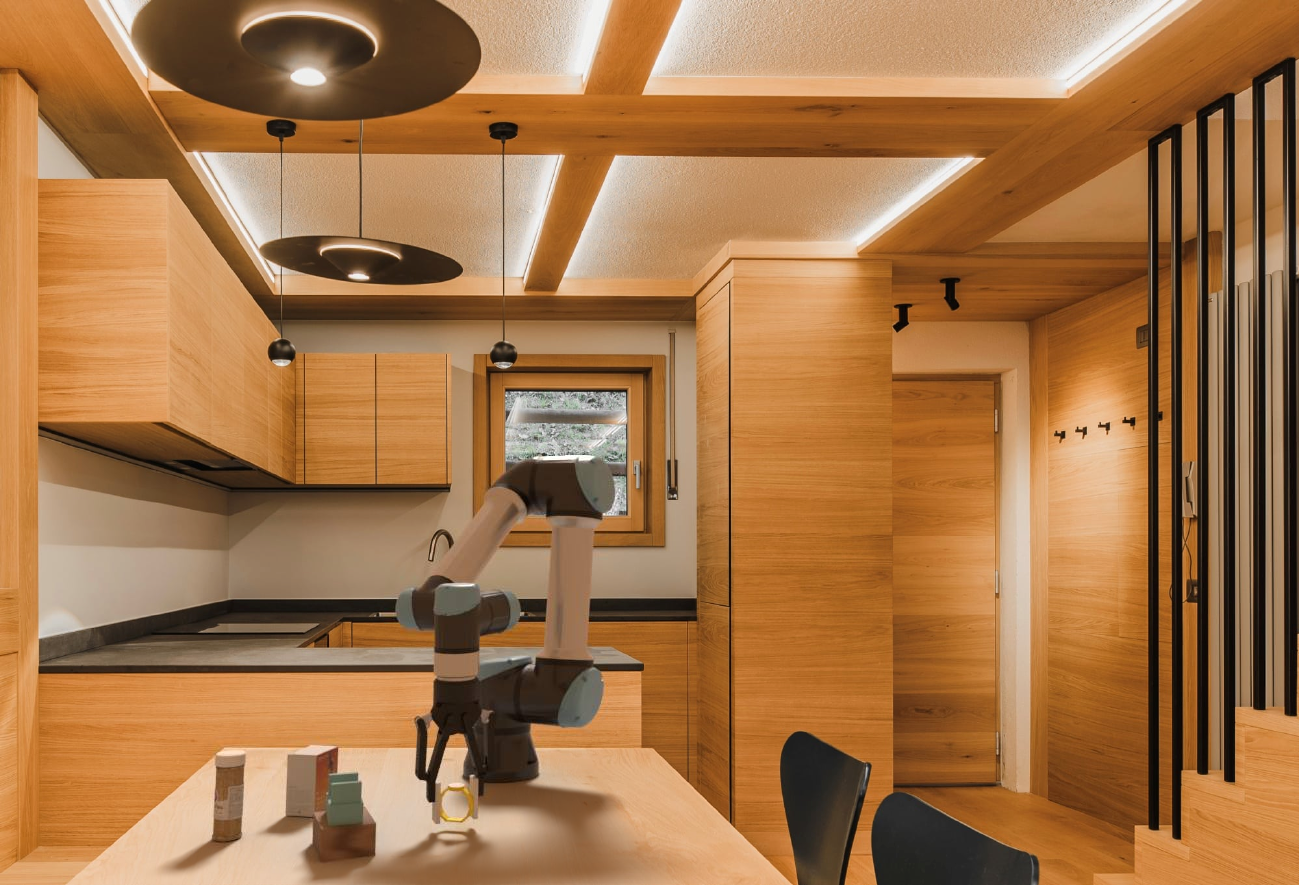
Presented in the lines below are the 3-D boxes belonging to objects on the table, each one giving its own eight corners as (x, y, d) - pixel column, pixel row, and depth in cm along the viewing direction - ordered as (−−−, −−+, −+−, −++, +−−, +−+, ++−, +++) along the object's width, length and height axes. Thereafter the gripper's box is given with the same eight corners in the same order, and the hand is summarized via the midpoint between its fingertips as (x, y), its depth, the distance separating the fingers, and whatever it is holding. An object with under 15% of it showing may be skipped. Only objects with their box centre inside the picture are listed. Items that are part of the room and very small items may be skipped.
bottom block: (364, 838, 164) (365, 806, 164) (375, 857, 155) (376, 823, 155) (312, 844, 160) (313, 812, 161) (320, 864, 151) (321, 829, 152)
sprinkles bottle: (206, 838, 162) (210, 752, 163) (233, 832, 166) (237, 747, 167) (220, 844, 159) (224, 756, 160) (248, 837, 163) (251, 752, 164)
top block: (358, 809, 162) (359, 770, 163) (362, 823, 155) (364, 782, 156) (325, 812, 161) (326, 773, 161) (328, 826, 153) (329, 785, 154)
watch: (474, 821, 169) (477, 785, 169) (468, 826, 166) (471, 789, 166) (440, 816, 170) (443, 780, 170) (433, 821, 167) (437, 784, 168)
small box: (314, 818, 174) (316, 755, 175) (284, 816, 175) (286, 753, 176) (337, 806, 182) (339, 745, 182) (308, 804, 183) (310, 744, 184)
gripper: (504, 670, 177) (503, 806, 175) (395, 677, 169) (393, 820, 168) (516, 676, 170) (515, 818, 168) (404, 684, 162) (402, 833, 161)
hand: (455, 819), depth 168 cm, fingers closed on watch, 5 cm apart
